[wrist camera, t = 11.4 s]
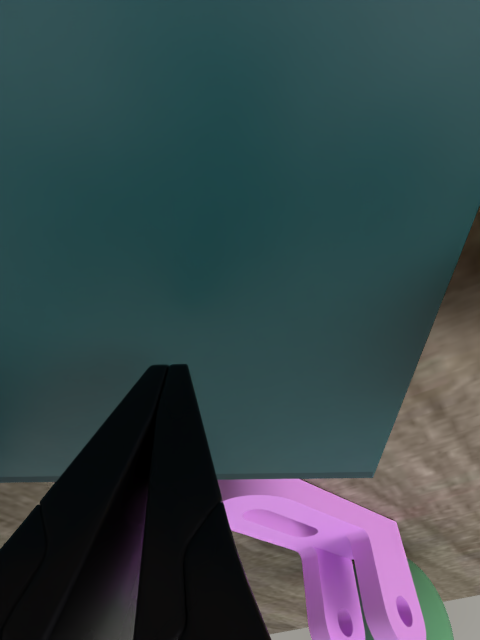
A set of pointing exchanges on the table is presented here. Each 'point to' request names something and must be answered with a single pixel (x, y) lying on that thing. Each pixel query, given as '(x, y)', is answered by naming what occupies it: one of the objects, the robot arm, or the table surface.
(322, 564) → the bracket
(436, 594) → the alien toy
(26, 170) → the book
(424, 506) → the table surface
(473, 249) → the table surface
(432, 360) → the table surface
